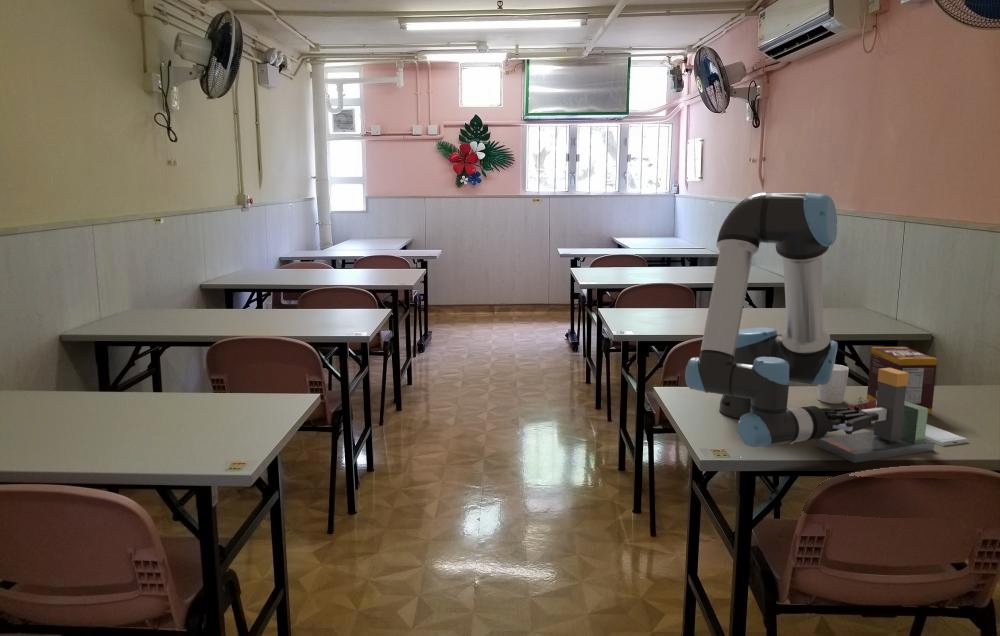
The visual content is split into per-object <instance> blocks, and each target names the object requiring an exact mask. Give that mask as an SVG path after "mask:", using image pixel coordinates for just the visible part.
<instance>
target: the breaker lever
mask: <svg viewBox="0 0 1000 636" xmlns="http://www.w3.org/2000/svg"><path fill="white" fill-rule="evenodd" d="M908 378H909V373H907V372H904V371H900V370H897V369H893V368H881V369H879V372H878V381H879V385H878V396H877V406H876V408H880V407H883V408H886V409H887V415H886V420H883V421H875V422H874V428H873V431H874V435H876V436H878V437H881V438H883V439H886V440H888V441H897V440H901V431H902V421H903V412H904V402H905V393H906V386H908Z"/></svg>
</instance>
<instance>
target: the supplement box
mask: <svg viewBox="0 0 1000 636" xmlns="http://www.w3.org/2000/svg"><path fill="white" fill-rule="evenodd" d="M937 365H938V359H937V358H936V357H933V356H930V355H928V354H925V353H924V352H923V353H922V352H920V351H918V350H914V349H912V348H909V347H907V346H871V353H870V361H869V369H868V370H869V371H868V372H869V373H868V380H867V382H868V383H867V393H866V399H867V401H869V402H871V401H875V400H876V402H877V396H878V385H879V381H878V372H879V369H881V368H893V369H897V370H900V371H904V372H907V373H909V378H908V386H906V393H905V401H907V402H910V403H913V404H916V405H919V406H922V407H925V408H928V414H927V415H932V413H933V405H934V395H935V393H934V392H935V384H936V373H937Z"/></svg>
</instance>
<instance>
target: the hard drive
mask: <svg viewBox="0 0 1000 636" xmlns="http://www.w3.org/2000/svg"><path fill="white" fill-rule="evenodd" d="M925 439H927V440H930V441H932V442H935V444H936V445H939V446H941V447H945V446H951V445H958V444H959V445H960V444H966V443H969V439H968V438H966V437H964V436H961V435H957V434H954V433H952V432H950V431H947V430H944V429H942V428H939V427H936V426H933V425H931V424H928V423H926V432H925Z"/></svg>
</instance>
